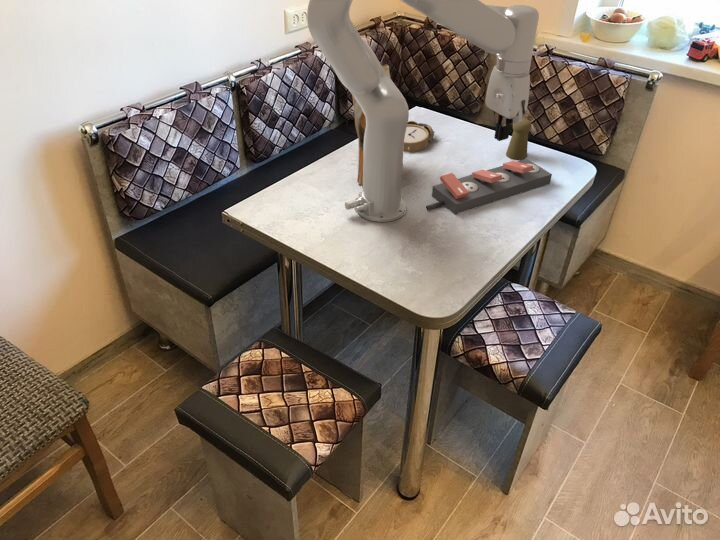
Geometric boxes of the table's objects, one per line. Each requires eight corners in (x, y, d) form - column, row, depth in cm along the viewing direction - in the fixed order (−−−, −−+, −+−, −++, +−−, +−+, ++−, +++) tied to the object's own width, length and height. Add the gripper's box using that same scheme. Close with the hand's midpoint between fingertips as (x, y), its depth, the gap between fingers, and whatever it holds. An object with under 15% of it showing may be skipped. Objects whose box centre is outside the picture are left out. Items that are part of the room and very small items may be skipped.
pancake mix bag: (342, 182, 166) (342, 81, 149) (383, 156, 179) (387, 59, 161) (362, 190, 163) (365, 87, 146) (402, 163, 175) (409, 65, 158)
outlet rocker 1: (455, 201, 155) (457, 195, 153) (439, 181, 159) (440, 175, 157) (466, 197, 156) (469, 192, 155) (450, 178, 160) (452, 172, 158)
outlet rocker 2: (491, 185, 157) (490, 178, 156) (472, 179, 163) (471, 172, 163) (502, 182, 159) (501, 174, 158) (482, 176, 165) (482, 169, 164)
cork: (528, 160, 178) (536, 125, 171) (507, 160, 178) (514, 124, 171) (524, 150, 183) (531, 116, 176) (504, 150, 183) (510, 115, 176)
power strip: (438, 219, 153) (439, 208, 151) (415, 200, 160) (416, 189, 157) (549, 183, 168) (552, 172, 165) (524, 168, 174) (526, 157, 172)
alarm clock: (382, 136, 183) (411, 112, 190) (383, 150, 186) (411, 125, 194) (414, 147, 177) (442, 122, 185) (414, 161, 181) (442, 136, 188)
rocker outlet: (522, 176, 161) (522, 168, 161) (502, 170, 168) (502, 163, 167) (532, 173, 163) (532, 165, 162) (513, 167, 169) (513, 160, 168)
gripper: (479, 57, 144) (470, 130, 155) (522, 78, 134) (509, 154, 145) (504, 52, 147) (493, 123, 158) (548, 72, 137) (533, 147, 148)
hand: (501, 138), depth 152 cm, fingers closed
